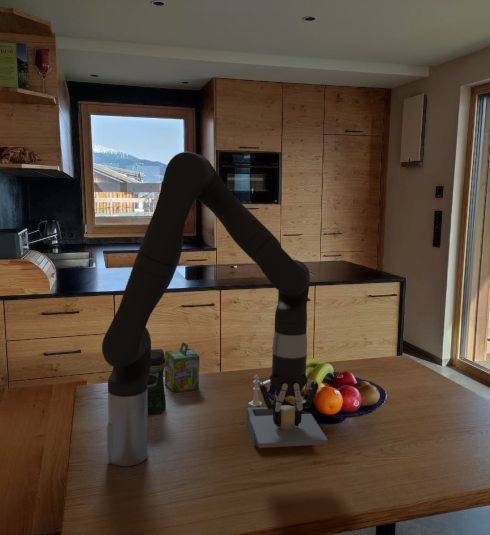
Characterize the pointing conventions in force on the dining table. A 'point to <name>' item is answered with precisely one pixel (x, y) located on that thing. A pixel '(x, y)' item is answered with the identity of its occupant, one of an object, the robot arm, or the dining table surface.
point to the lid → (287, 430)
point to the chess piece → (255, 393)
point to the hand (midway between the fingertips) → (286, 424)
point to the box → (256, 412)
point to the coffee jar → (156, 383)
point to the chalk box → (182, 369)
